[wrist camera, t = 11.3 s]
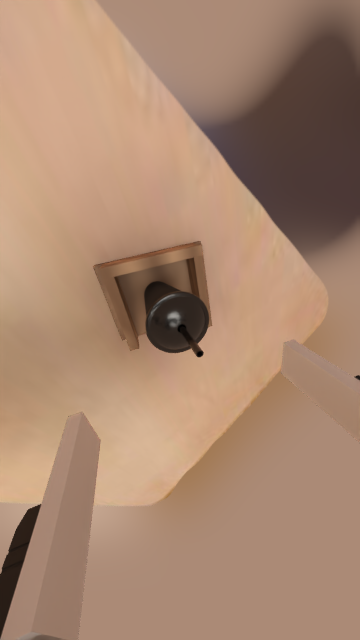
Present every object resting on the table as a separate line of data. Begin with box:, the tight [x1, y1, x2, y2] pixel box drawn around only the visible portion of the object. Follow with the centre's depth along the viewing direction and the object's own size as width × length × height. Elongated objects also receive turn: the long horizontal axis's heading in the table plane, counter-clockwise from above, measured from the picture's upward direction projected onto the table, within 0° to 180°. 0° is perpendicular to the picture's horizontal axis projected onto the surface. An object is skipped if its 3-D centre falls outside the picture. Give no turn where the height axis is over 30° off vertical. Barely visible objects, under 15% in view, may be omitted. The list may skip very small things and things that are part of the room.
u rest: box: [93, 241, 212, 351], centre depth 32 cm, size 18×14×6 cm
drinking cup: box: [144, 281, 209, 357], centre depth 25 cm, size 8×8×20 cm
